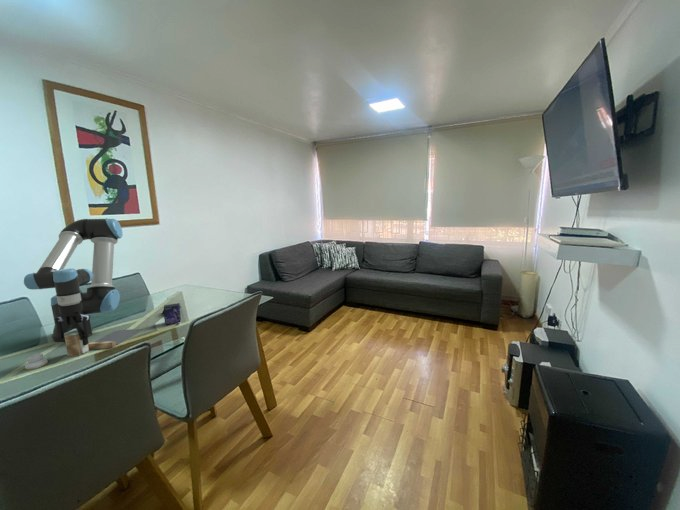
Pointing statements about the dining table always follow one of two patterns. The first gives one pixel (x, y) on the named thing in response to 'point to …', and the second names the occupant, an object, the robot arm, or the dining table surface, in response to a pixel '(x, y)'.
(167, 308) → the box
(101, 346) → the strip
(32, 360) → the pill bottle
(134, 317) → the dining table surface
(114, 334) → the mat
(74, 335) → the block
